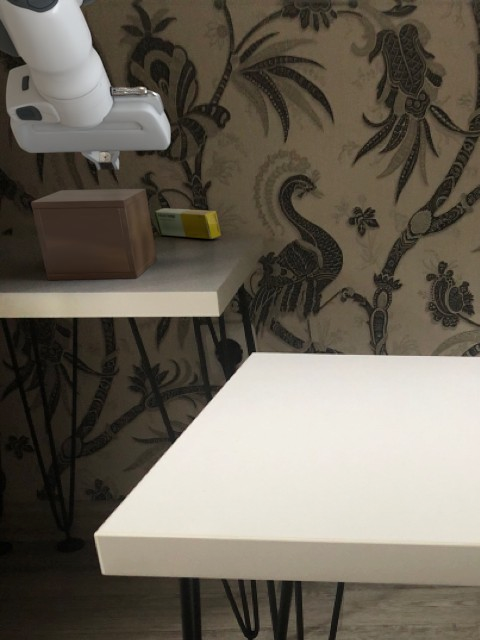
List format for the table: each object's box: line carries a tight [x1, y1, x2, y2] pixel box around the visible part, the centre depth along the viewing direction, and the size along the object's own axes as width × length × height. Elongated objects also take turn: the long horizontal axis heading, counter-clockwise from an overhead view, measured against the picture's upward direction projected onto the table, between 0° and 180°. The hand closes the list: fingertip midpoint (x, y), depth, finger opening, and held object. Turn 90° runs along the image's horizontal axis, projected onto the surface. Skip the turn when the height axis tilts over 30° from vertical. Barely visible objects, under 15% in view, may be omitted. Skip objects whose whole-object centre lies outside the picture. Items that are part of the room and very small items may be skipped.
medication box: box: [154, 207, 222, 240], centre depth 151 cm, size 12×3×4 cm, turn 59°
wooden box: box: [30, 188, 158, 281], centre depth 125 cm, size 14×12×10 cm
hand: (108, 166), depth 131 cm, fingers closed
